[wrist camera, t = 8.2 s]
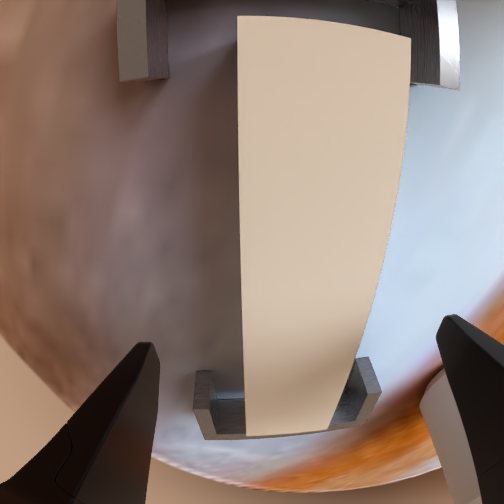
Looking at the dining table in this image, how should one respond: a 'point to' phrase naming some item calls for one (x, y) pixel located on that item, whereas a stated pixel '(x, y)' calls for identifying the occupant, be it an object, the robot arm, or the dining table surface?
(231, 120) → the dining table surface
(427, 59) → the end caps
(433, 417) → the can
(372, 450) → the dining table surface
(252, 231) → the beige wooden bar
